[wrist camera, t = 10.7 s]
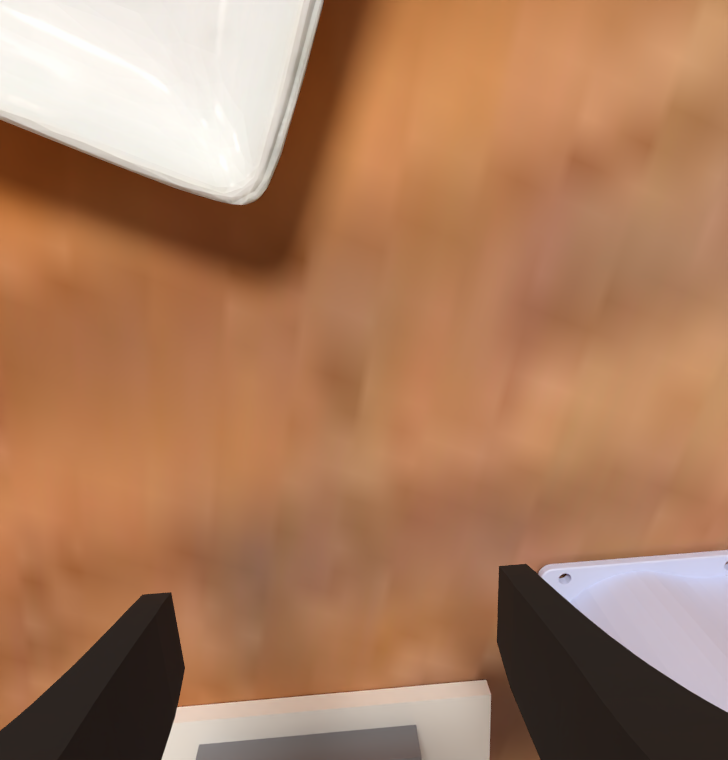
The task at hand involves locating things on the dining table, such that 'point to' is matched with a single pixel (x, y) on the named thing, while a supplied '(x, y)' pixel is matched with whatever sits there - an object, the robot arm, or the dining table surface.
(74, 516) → the dining table surface
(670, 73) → the dining table surface
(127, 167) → the square plate
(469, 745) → the socket board
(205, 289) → the dining table surface
